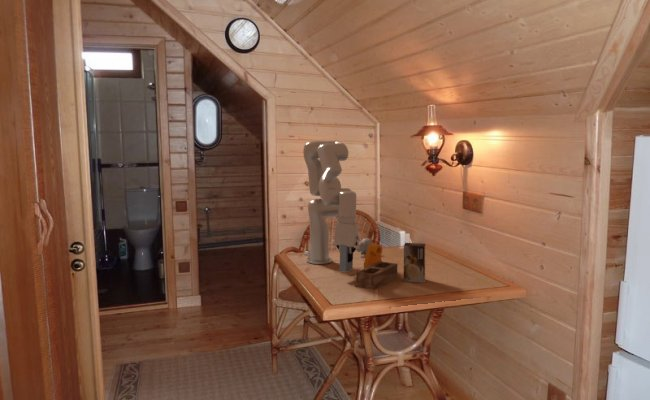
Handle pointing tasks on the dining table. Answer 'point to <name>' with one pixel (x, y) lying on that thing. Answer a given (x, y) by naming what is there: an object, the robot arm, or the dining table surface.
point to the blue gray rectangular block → (345, 259)
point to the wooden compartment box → (376, 275)
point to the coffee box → (414, 262)
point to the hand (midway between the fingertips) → (346, 260)
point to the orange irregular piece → (373, 254)
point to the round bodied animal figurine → (364, 245)
